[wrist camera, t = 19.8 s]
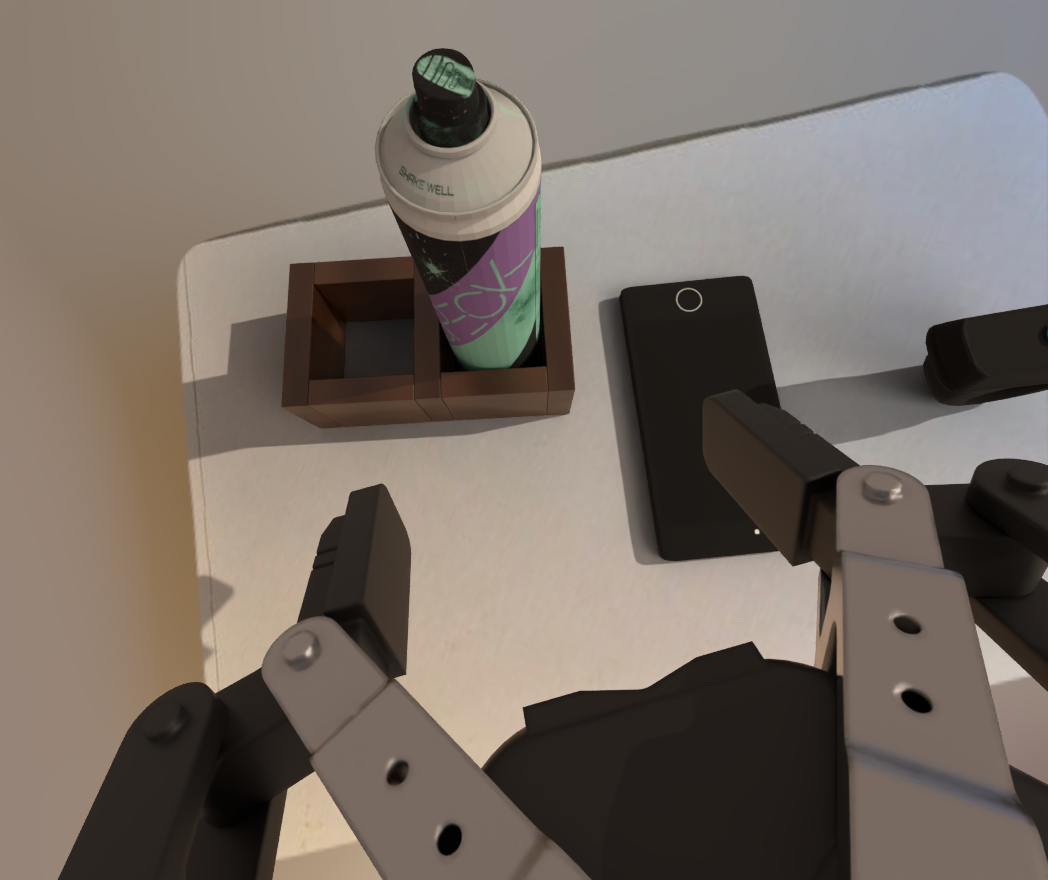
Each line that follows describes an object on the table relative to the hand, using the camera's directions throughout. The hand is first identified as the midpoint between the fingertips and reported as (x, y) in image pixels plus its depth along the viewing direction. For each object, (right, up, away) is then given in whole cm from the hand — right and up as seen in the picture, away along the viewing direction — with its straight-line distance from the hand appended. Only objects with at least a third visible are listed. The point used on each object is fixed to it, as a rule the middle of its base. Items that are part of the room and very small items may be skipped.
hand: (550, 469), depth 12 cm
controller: (+27, +4, +20) cm, 34 cm away
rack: (-6, +6, +21) cm, 23 cm away
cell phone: (+11, +2, +19) cm, 23 cm away
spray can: (-2, +6, +21) cm, 22 cm away
